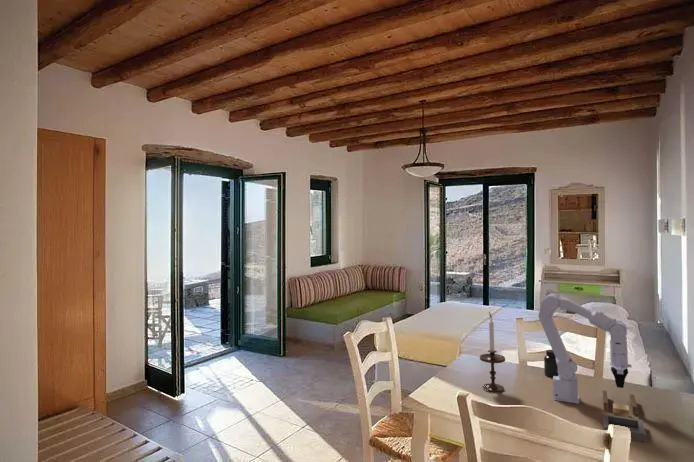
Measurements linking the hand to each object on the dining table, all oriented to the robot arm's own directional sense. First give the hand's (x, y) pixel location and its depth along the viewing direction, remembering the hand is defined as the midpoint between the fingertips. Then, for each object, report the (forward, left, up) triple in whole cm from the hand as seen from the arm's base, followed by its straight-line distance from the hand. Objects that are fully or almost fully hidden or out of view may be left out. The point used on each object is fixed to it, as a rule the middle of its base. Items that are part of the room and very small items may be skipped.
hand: (619, 387), depth 164 cm
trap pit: (0, -20, -8) cm, 22 cm away
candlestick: (-48, 0, -9) cm, 49 cm away
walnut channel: (0, +3, -8) cm, 9 cm away
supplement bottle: (-26, +30, -9) cm, 41 cm away
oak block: (0, -8, -9) cm, 12 cm away
